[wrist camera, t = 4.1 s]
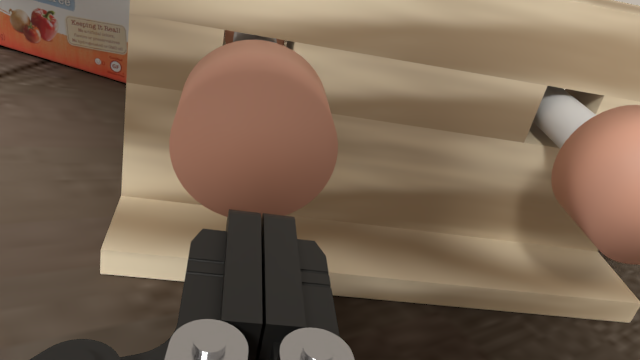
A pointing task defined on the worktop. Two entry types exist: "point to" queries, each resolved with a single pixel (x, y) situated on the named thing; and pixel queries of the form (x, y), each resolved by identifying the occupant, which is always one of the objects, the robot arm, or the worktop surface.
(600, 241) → the knob
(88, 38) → the cracker box
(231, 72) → the knob
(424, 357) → the worktop surface
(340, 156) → the knob panel
